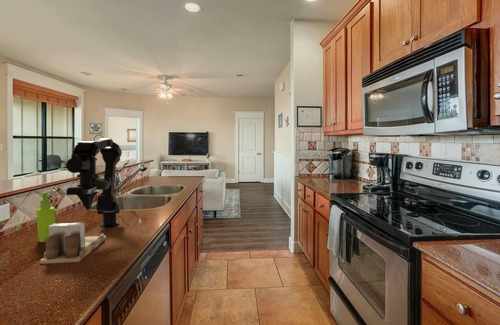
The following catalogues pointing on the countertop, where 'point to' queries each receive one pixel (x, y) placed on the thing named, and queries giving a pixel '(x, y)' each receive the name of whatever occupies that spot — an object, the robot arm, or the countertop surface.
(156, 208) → the countertop surface
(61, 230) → the white square slab
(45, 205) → the soap dispenser
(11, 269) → the countertop surface
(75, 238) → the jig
